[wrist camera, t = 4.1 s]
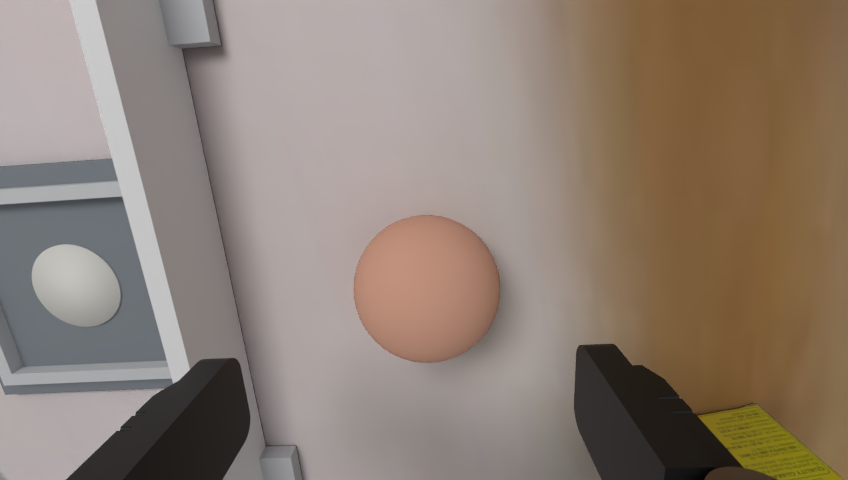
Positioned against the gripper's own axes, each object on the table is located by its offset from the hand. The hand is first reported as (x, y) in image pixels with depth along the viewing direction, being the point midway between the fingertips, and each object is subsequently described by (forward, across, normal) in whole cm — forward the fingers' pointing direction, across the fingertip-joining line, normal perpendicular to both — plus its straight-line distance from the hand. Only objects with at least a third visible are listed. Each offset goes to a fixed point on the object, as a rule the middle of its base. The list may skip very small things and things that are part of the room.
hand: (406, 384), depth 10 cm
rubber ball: (+6, 0, 0) cm, 6 cm away
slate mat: (+9, +16, 0) cm, 18 cm away
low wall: (+9, +9, 0) cm, 13 cm away
